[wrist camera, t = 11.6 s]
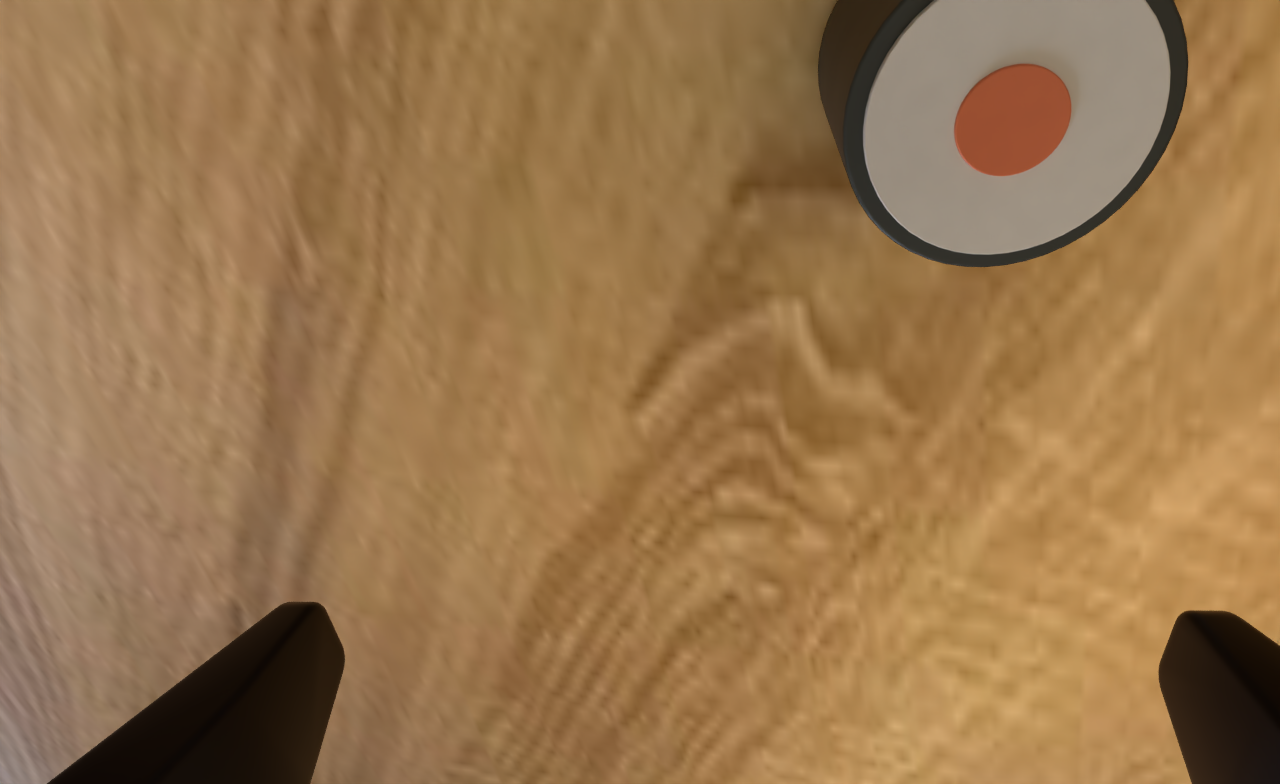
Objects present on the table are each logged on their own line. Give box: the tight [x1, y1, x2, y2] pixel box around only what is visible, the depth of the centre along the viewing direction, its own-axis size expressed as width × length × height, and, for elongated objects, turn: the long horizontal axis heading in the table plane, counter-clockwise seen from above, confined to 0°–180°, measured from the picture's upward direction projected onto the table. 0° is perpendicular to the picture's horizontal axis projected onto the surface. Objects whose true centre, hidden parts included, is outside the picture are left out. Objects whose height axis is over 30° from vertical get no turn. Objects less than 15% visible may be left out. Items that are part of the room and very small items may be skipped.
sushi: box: [818, 0, 1188, 267], centre depth 14 cm, size 5×5×5 cm
